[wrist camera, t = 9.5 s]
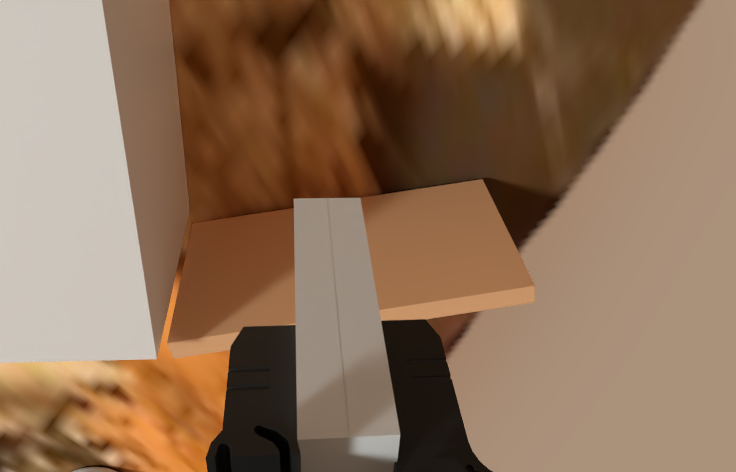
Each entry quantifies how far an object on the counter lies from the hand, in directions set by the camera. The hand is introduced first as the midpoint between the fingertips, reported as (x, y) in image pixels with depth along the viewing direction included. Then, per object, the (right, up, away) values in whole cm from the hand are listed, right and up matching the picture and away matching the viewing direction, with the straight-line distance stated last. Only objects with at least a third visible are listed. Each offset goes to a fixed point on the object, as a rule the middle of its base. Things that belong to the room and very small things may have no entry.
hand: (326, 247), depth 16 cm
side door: (-1, +1, +24) cm, 24 cm away
